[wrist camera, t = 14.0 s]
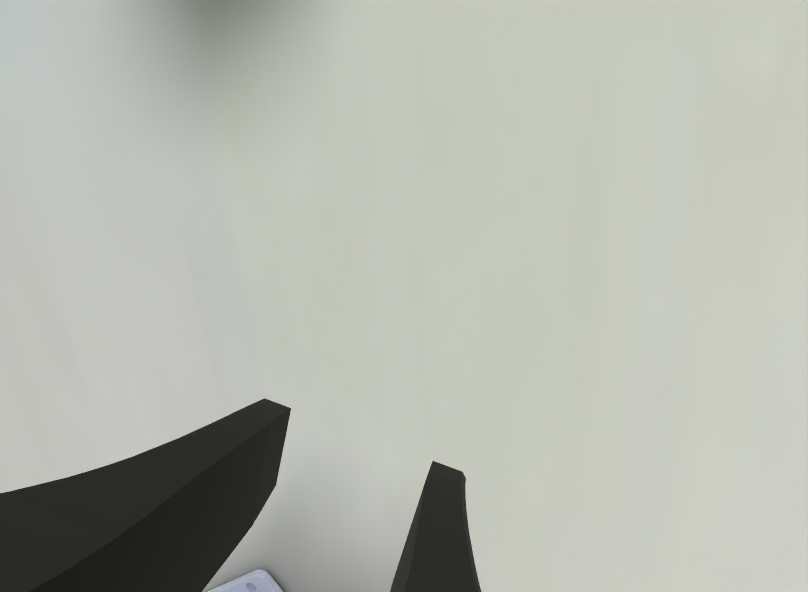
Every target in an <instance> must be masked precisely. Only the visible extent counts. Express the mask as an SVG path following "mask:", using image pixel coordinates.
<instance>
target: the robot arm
mask: <svg viewBox="0 0 808 592" xmlns="http://www.w3.org/2000/svg"><path fill="white" fill-rule="evenodd" d="M290 411H291V408H289V407H286V406H283V405H281V404H278V403H275V402H273V401H270V400H267V399H262V400H260V401H258V402H256V403H253V404H251V405H249V406H247V407H245V408H243V409H241V410H238V411H236V412H234V413H232V414H230V415H228V416H226V417H224V418H222V419H220V420H218V421H215V422H213V423H211V424H209V425H207V426H205V427H203V428H200V429H198V430H196V431H194V432H191V433H189V434H187V435H185V436H183V437H180V438H178V439H176V440H173V441H171V442H168V443H166V444H163V445H161V446H158V447H156V448H153V449H151V450H148V451H146V452H143V453H141V454H138V455H136V456H133V457H130V458H128V459H125V460H122V461H119V462H116V463H113V464H110V465H107V466H104V467H101V468H98V469H94V470H91V471H88V472H85V473H81V474H78V475H74V476H71V477H67V478H64V479H59V480H55V481H51V482H47V483H43V484H39V485H35V486H31V487H26V488H22V489H18V490H14V491H10V492H5V493H0V592H202V591H203V589H204V588H205V587H206V585H207V584H208V583H209V582H210V580H211V579H212V578H213V576H214V575H215V574H216V572H217V571H218V570H219V569H220V567H221V566H222V565H223V563H224V562H225V561H226V559H227V558H228V557H229V556H230V554H231V553H232V552H233V550H234V549H235V548H236V546H237V545H238V544H239V542H240V541H241V540H242V538H243V537H244V536H245V534H246V533H247V532H248V530H249V529H250V528H251V526H252V525H253V523H254V521H255V520H256V518H257V516H258V515H259V513H260V512H261V510H262V508H263V506H264V505H265V503H266V501H267V500H268V498H269V496H270V494H271V493H272V491H273V489H274V487H275V486H276V482H277V477H278V472H279V467H280V461H281V456H282V451H283V446H284V441H285V436H286V431H287V426H288V421H289V416H290ZM465 481H466V478H465V476H464V474H463V472H461V471H459V470H456V469H453V468H451V467H448V466H445V465H443V464H440V463H437V462H435V461H433V462H432V464H431V467H430V470H429V473H428V476H427V479H426V481H425V484H424V487H423V491H422V494H421V497H420V500H419V503H418V506H417V509H416V512H415V515H414V518H413V521H412V524H411V528H410V531H409V534H408V537H407V540H406V543H405V546H404V549H403V552H402V555H401V558H400V561H399V565H398V568H397V571H396V574H395V577H394V580H393V583H392V587H391V591H390V592H481V589H480V585H479V581H478V577H477V572H476V568H475V563H474V558H473V552H472V547H471V541H470V536H469V529H468V521H467V512H466V500H465ZM207 592H283V591H282V589H281V588H280V587H279V586H278V584H277V583H276V582H275V581H274V579H273V578H272V577H271V576H270V574H269V573H268V572H266V571H264V570H260V569H259V570H255V571H252V572H250V573H248V574H246V575H243V576H241V577H239V578H237V579H234V580H232V581H230V582H228V583H225V584H223V585H221V586H219V587H216V588H214V589H212V590H210V591H207Z"/></svg>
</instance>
